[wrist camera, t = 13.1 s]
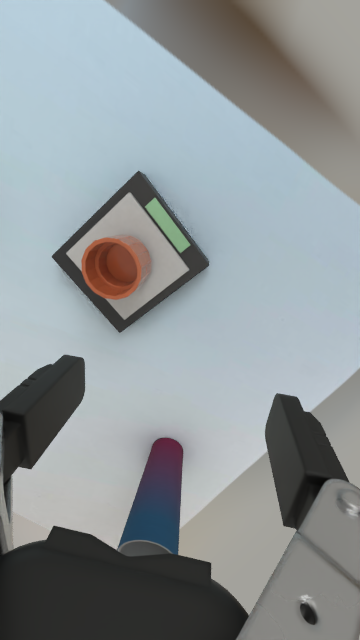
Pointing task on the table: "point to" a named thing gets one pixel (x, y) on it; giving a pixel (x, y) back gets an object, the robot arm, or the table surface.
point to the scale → (156, 235)
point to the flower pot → (116, 266)
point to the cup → (156, 504)
